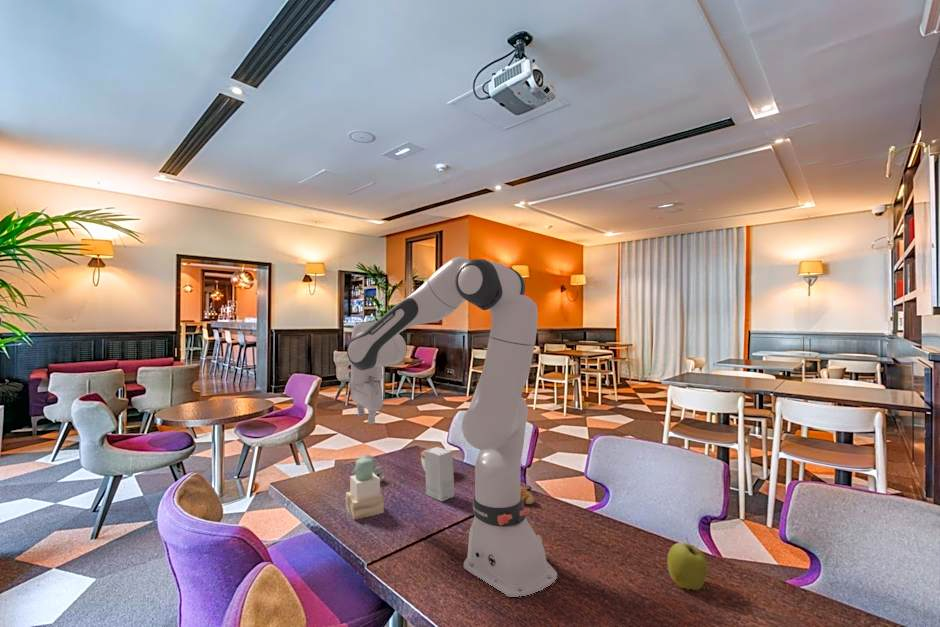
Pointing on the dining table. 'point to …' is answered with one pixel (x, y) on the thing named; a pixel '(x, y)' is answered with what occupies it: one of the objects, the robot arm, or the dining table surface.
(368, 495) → the tower top
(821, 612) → the dining table surface
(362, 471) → the sage green capsule
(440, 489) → the skincare box
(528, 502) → the croissant
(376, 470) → the round bodied animal figurine
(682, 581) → the apple
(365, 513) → the tower base
